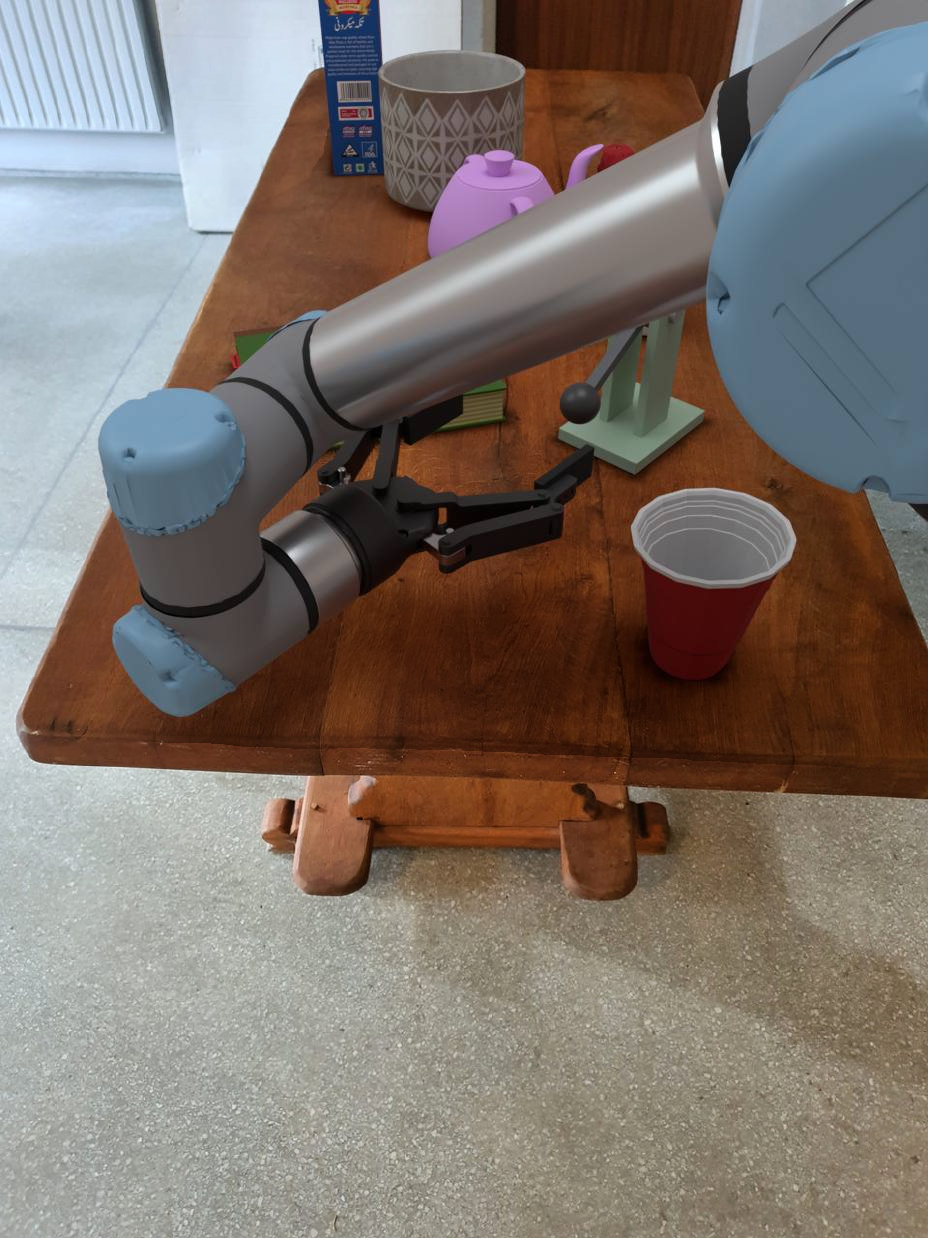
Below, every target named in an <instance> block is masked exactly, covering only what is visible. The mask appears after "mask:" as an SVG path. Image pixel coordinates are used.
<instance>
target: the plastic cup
mask: <svg viewBox="0 0 928 1238" xmlns="http://www.w3.org/2000/svg"><path fill="white" fill-rule="evenodd" d="M630 531H631V537H632V542H633V547H634V550H635V552H636V553H637V554H638V555H639V557H640V559H641V565H642V568H643V569H642V570H643V580H644V596H645V597H644V599H645V612H646V613H645V614H646V621H647V637H648V646H649V647H648V648H649V652H650V655H651V658H652V660H653V661H654V663H655V664H656V665H657V667H658V668H659V669H661V670H662V671H664V672H665V673H666V674H668V675H669V676H672V677H675V678H679V679H681V680H686V681H687V680H688V681H695V680H696V681H701V680H704V679H709V678H711V677H714V676H716V675H717V674H718V673H719V672H720V671H721V670H723V668H724V666H726V664H728V662H729V660H730V658H731V656H732V654H733V652H734V651H735V649H736V647H737V645H738V644H739V643H740V642H741V640H742V638H744V635H745V633H746V632H747V629H748V628H749V625H750V624H751V621H752V620H753V618H754V616H755V615H756V612H757V611H758V608H759V607H760V605H761V603H762V601H763V599H764V597H765V595H766V593H767V592H768V591H770V588H771V586H772V584H773V582H774V580H776V578H777V576H778V575H779V572H781V570H783V568H785V567H786V566H787V565H788V564H789V563H790V561H791V560H792V557H793V553H794V551H795V546H796V544H797V541H798V540H797V537H796V534H795V532H794V529H793V527H792V524H791V522H790V520H789V519H788V518H787V517H786V516H784V514H782V512H780V511H779V510H778V509H777V508H776V507H774V505H772V504H771V503H769V502H766V501H764V500H761V499H759V498H757V497H754V496H753V495H750V494H748V493H746V492H741V491H735V490H730V489H724V488H719V487H701V488H698V487H697V488H684V489H680V490H677V491H673V492H670V493H666V494H663V495H659V496H657V497H655V498H654V499H653V500H652V501H650V502H648V503H647V504H646V505H644V506H643V507H641V508H640V509H639V510H638V512H637V514H636V516H635V518H634V520H633V521H632V524H631V525H630Z"/></svg>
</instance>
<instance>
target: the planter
mask: <svg viewBox="0 0 928 1238" xmlns="http://www.w3.org/2000/svg"><path fill="white" fill-rule="evenodd" d="M378 77H379V93H380V109H381V126H382V142H383V159H384V174H383V175H384V188H385V191H386V193H387V195H388V196H389V197H390V198H391V199H392V200H393V201H395V202H397V203H398V204H400V205H402V206H404V207H407V208H409V209H413V210H417V211H422V212H427V213H434V210H435V207H436V205H437V203H438V201H439V199H440V197H441V195H442V193H443V192H444V190H445V188H446V187H447V185H448V183H449V181H450V180H451V178H452V177H453V176H454V174H455V173H456V171H457V170H458V169H459V168H461V167H462V166H463V164H464V161H465V159H466V158H467V157H468V156H470V155H475V154H478V155H481V156H483V157H484V155H485V154H486V153H488V152H490V151H495V150H504V151H508V152H511V153H512V154H514V160H518V161H523V152H524V151H523V149H524V148H523V147H524V125H525V124H524V123H525V122H524V121H525V95H526V68H525V66H524V65H523V64H522V63H521V62H519V61H518V60H515V59H513V58H511V57H509V56H506V55H502V54H498V53H494V52H488V51H487V52H486V51H479V50H470V49H469V50H468V49H467V50H466V49H441V50H440V49H438V50H428V51H419V52H415V53H408V54H404V55H400V56H397V57H395V58H392V59H390V60H388V61H386V62H384V63H383V65H382V66H381V67H380V69H379V71H378ZM484 158H485V157H484Z"/></svg>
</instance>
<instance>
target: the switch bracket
mask: <svg viewBox="0 0 928 1238" xmlns="http://www.w3.org/2000/svg"><path fill="white" fill-rule="evenodd" d="M686 310H687V309H684V310H681V311H679V312H676V313H673V314H671V315H668V316H666V317H663V318H660V319H658V320H655V321H653V322H650V323H649V329H648V336H646V343H645V351H644V356H643V364H642V370H641V378H640V382H637V376H638V369H639V361H640V354H641V349H642V340H643V335H642V334H643V329H642V330H641V331H640V333H639V334H638V336H637V337H636V339H635V340H634V341H633V343H632V344H631V346H630V347H629V349H628V350H627V351H626V353H625V354H624V356H623V357H622V358H621V360H620V361H619V363H618V364H617V366H616V367H615V368H614V370H613V371H612V373H611V374H610V376H609V377H608V378H607V380H606V381H605V383H604V384H603V386H602V391H601V397H600V399H601V407H600V411H599V413H598V415H597V416H596V417H595V418H594V419H593V420H592V421H590V422H589V423H586V424H580V425H579V424H573V423H571V422H569V421H567V422H565V423H564V424H562V425H561V426H560V427H559V428H558V437H557V438H558V440H559V441H561V442H563V443H566V444H567V445H570V446H572V447H575V448H577V449H578V450H579V449H580V448H582V447H583V446H584V445H586V444H588V445H590V446H593V447H595V448H594V457H596V458H598V459H600V460H602V461H604V462H607V463H608V464H610V465H613V466H616V467H617V468H619V469H621V470H624V471H626V472H628V473H630V474H632V475H634V476H635V475H637V474H638V473H639V472H641V471H642V470H643V469H645V468H646V466H648V465H649V464H651V463H652V462H653V461H654V460H656V459H657V458H659V457H660V456H661V455H662V454H664V453H665V452H666V451H668V449H670V448H671V447H672V446H674V445H675V444H676V443H677V442H679V441H681V439H683V438H684V437H685V436H686V435H688V434H689V433H690V432H691V431H693V430H694V429H695V428H696V427H699V425H700V424H702V423H703V422H704V418H705V412H706V410H705V409H702V408H700V407H698V406H695V405H693V404H690V403H688V402H686V401H683V400H681V399H678V398H676V397H673V396H672V393H673V392H672V390H673V385H674V380H675V374H676V369H677V362H678V356H679V351H680V345H681V341H682V340H681V339H682V334H683V327H684V322H685V315H686ZM618 335H619V334H618ZM618 335H616V336H613V337H611V338H608V339H607V347H606V352H607V351H608V350H609V348H610V347H611V345H612V344H613V342H614V341H615V340H616V338H617V337H618Z"/></svg>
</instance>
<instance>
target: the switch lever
mask: <svg viewBox="0 0 928 1238" xmlns="http://www.w3.org/2000/svg"><path fill="white" fill-rule="evenodd" d="M643 327H647V328H649V323H647V324H645V325H642V326H639V327H637V328H634V329H632V330H629V331H626V332H624V333H621V334H619V335H618V337H617V338H616V340H615V341H614V342H613V344H612V345H611V347H610V348H609V350H608V351H607V350H606V353H605V354H604V355H603V356H602V358H601V360H600V361H599V362H598V364H597V365H596V367H594V369H593V371H592V372H591V374H590V375H589V377H588V378H587V380H586V381H585V382H580V381H579V382H575V383H572V384H570V385H568V386H567V387H566V388H565V389H564V390H563V391H562V393H561V395H560V398H559V409H560V413H561V415H562V416H563V418H564V419H565V420H566V421H567V422H571V423H573V424H579V425H580V424H586V423H589V422H590V421H592V420H593V419H594V418H595V417H596V416H597V415H598V413H599V411H600V407H601V396H600V393H599V391H600V390H601V388H603V384H604V383H605V381H606V380H607V378H608V377H609V376H610V374H611V373H612V371H613V370H614V368H615V367H616V366H617V364H618V363H619V361H620V360H621V358H622V357H623V356H624V354H625V353H626V351H627V350H628V349H629V347H630V346H631V344H632V343H633V341H634V340H635V339H636V337H637V336H638V334H639V333H640V331H641V330H642V329H643Z"/></svg>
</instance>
